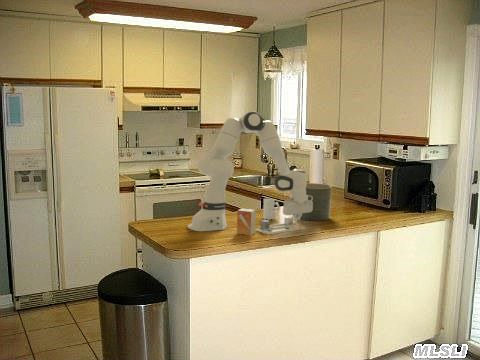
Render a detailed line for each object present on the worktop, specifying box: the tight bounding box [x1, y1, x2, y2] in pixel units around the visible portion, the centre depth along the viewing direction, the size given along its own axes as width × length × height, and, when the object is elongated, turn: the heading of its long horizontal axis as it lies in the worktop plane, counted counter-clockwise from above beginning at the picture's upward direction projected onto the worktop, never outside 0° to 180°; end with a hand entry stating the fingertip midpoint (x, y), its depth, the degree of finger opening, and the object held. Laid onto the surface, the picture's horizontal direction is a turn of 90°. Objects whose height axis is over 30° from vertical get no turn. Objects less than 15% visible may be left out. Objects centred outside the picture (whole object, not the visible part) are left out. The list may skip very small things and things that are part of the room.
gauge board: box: [256, 219, 300, 235], centre depth 279 cm, size 22×10×6 cm, turn 125°
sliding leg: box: [283, 216, 298, 226], centre depth 284 cm, size 3×9×4 cm, turn 35°
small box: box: [236, 208, 256, 236], centre depth 270 cm, size 8×6×13 cm
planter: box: [297, 182, 333, 222], centre depth 315 cm, size 22×22×20 cm
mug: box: [262, 198, 280, 221], centre depth 308 cm, size 10×7×12 cm, turn 71°
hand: (297, 221), depth 290 cm, fingers closed
